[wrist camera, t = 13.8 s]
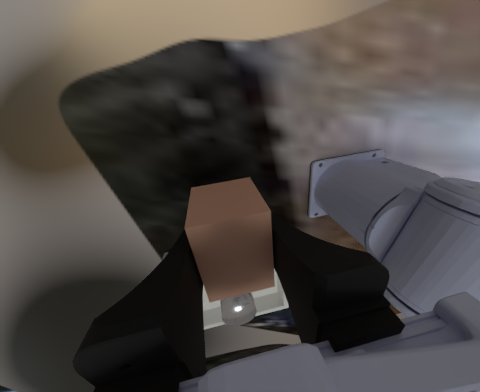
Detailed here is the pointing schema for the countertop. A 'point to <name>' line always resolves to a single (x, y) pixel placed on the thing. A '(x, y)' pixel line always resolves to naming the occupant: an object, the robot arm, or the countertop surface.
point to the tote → (263, 301)
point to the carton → (231, 238)
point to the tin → (238, 309)
